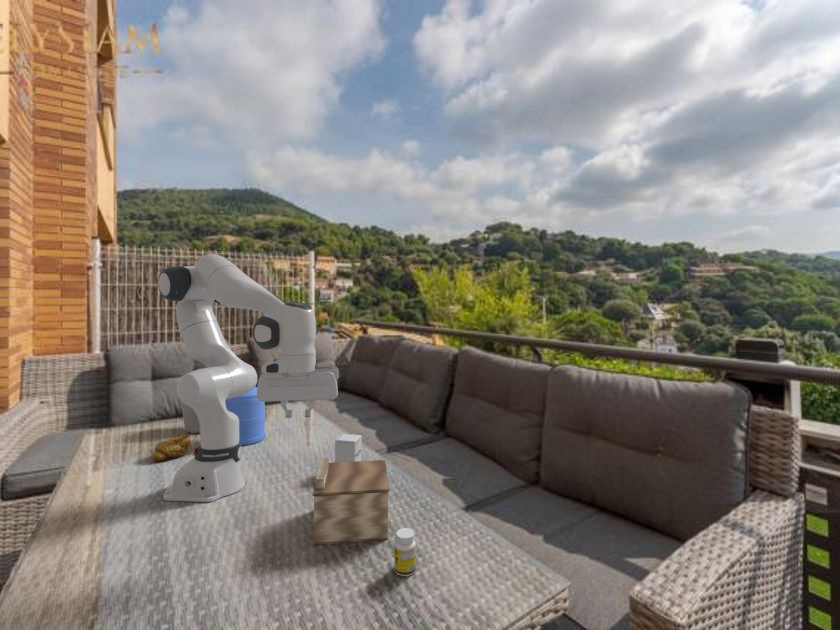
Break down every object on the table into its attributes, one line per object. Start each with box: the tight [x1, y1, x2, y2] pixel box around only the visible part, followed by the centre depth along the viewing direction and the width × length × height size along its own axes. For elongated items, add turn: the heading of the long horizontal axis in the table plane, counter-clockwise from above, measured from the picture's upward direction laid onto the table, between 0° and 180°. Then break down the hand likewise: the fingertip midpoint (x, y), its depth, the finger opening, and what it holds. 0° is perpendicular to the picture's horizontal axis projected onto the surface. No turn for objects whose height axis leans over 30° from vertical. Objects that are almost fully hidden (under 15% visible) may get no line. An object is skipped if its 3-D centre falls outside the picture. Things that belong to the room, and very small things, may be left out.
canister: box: [180, 400, 200, 434], centre depth 184 cm, size 18×18×21 cm
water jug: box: [225, 386, 266, 447], centre depth 171 cm, size 16×16×28 cm
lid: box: [312, 457, 390, 497], centre depth 106 cm, size 19×19×3 cm
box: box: [313, 491, 389, 546], centre depth 107 cm, size 18×18×12 cm
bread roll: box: [151, 434, 191, 462], centre depth 151 cm, size 13×10×8 cm
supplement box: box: [334, 433, 363, 463], centre depth 138 cm, size 7×7×13 cm
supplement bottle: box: [393, 527, 417, 577], centre depth 88 cm, size 5×5×8 cm
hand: (298, 416), depth 104 cm, fingers open, 3 cm apart
